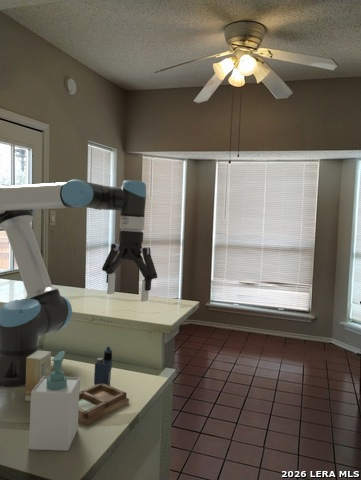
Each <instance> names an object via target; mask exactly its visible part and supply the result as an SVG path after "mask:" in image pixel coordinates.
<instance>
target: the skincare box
mask: <svg viewBox="0 0 361 480" xmlns="http://www.w3.org/2000/svg"><path fill="white" fill-rule="evenodd" d="M51 367H52V351H47V350H39V349H38V350H37V351H36V352H34V353H33V354H31V355H30V356H28V357H27V358H26V385H25V388H24V389H25V390H24V392H25V395H24V396H25V397H24V401H27V402H31V391H32V390H33V389H34V388H35V386H36V385H37V384H38V383H39V381H40V380H41V379H42V378H43V376H50V374H51V372H52V371H51V369H52V368H51Z"/></svg>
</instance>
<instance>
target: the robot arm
mask: <svg viewBox="0 0 361 480" xmlns="http://www.w3.org/2000/svg"><path fill="white" fill-rule="evenodd" d="M146 184H147V183H145V182H143V181H140V180H132V179H131V180H130V179H128V180H125V179H124V180H123V182H122V185H121V186H109V185H103V184H98V183H92V182H89V181H85V180H83V179H69V180H68V181H67V182H65V181H64V182H55V183H54V182H50V183H35V184H21V185H2V184H0V229H1V230H3V231H5V234H6V236H7V239H8V242H9V245H10V247H11V250H12V253H13V254H12V255H13V257H14V259H15V262H16V266H17V268H18V271H19V275H20V277H21V279H22V283H23V287H24V290H25V292H26V297H25V298H21V299H15V300H11V301H9V302H5V303H4V304H3V305H2V306H1V307H0V387H5V388H9V387H11V388H12V387H13V388H14V387H21V386H26V358H27V357H28V356H30V355H31V354H33V353H34V352H36V351H37V350H39V347H40V346H39V344H40V343H39V342H40V341H39V340H40V337H44V336H47V335H49V334H52V333H55V332H58V331H59V330H61V329H63V328H65V327H66V326H67V325H68V324H69V323H70V321H71V318H72V315H73V314H72V313H73V309H72V304H71V301H70V300H69V299H68V298H67V297H66V296H63V295H62V294H61V293H60V291H59V288H58V287H55V286H54V285H52V281H51V279H50V278H51V277H50V276H49V273H48V270H47V269H48V268H46V264H45V262H44V258H43V256H42V253H41V250H40V247H39V245H38V242H37V239H36V236H35V233H34V230H33V227H32V226H33V225H32V222H33V220H34V217H33V215H34V213H35V210H48V209H68V208H69V209H74V208H75V209H77V208H80V209H81V208H87V209H88V208H89V209H94V210H104V211H105V210H107V211H120V219H119V228H120V229H121V230H119V233H118V234H119V235H118V242H119V243H111V245H110V250H109V253H108V255H107V257H106V260H105V261H104V263H103V266H102V267H101V270H102V271H103V272H105V273H106V281H105V282H106V284H107V289H106V290H107V291H106V294H107V295H113V294H115V290H116V289H115V286H116V273H115V271H116V270H117V269H118V267H119V266H120V265H121V264H122V263H123V261H124V260H129V261H133V262H134V263H135V264H136V266H137V268H138V270H139V271H140V273H141V275H142V277H143V278H144V279H142V282H141V296H140V301H141V302H146V301H149V293H150V292H149V291H151V289H152V281H153V280H154V279H157V278H158V274H157V271H156V268H155V263H154V262H153V261H154V260H153V259H152V255H151V253H152V252H151V247H143V241H144V232H143V231H144V230H145V214H146V213H145V212H146V203H147V202H146V200H147V185H146ZM118 252H119V253H118Z"/></svg>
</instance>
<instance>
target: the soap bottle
mask: <svg viewBox="0 0 361 480" xmlns="http://www.w3.org/2000/svg"><path fill="white" fill-rule="evenodd" d="M65 353H66V351H64V350H61V351H59V352H58V353H57V354H56V355H54V357H53V358H51V362H53V368H54V370H53V371H51V374H50V376H43V378H42V379H41V380H40V381H39V383H38V384H37V385H36V386H35V388H34V389H33V390H32V391H31V401H30V405H29V406H30V408H29V409H30V410H29V412H30V413H29V429H28V430H29V433H28V449H29V450H35V451H37V450H39V451H40V450H41V451H46V450H47V451H65V452H67V451H69V450H70V447H71V445H72V444H73V441H74V438H75V437H76V434H77V431H78V429H79V421H78V412H79V392H80V391H81V390H80V386H81V385H80V384H81V383H80V382H81V377H79V376H66V375H65V373H64V371H63V370H61V367H62V366H63V364H62V363H63V361H64V357H65Z"/></svg>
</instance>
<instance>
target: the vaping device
mask: <svg viewBox="0 0 361 480" xmlns="http://www.w3.org/2000/svg"><path fill="white" fill-rule="evenodd" d="M112 362H113V349H111V347H110V346H106V349H104V353H103V357H97V358H96V361H95V363H94V375H93V381H94V382H93V384H94V386H95V385H97V384H99V383H104V384H106V385H109V386H111V377H112V376H111V374H112V369H113V367H112V365H113V363H112Z"/></svg>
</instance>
